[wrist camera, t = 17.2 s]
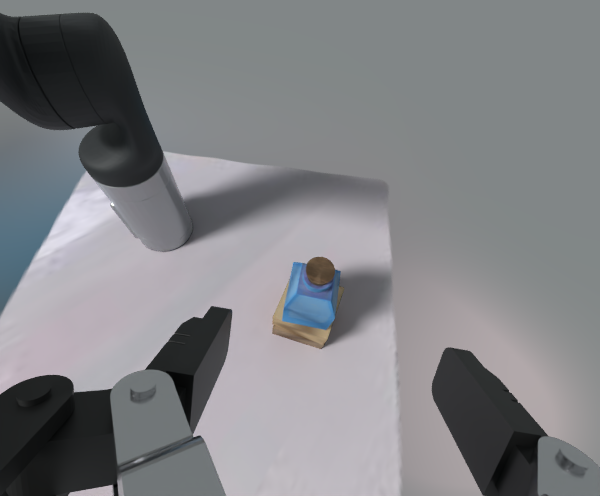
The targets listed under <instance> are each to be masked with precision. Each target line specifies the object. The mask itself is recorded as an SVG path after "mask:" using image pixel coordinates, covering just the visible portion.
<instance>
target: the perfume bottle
mask: <svg viewBox="0 0 600 496" xmlns="http://www.w3.org/2000/svg"><path fill="white" fill-rule="evenodd" d="M340 273H341V271H338V270H335V268H334V265H333V264H332V262H331V261H330V260H328V259H327V258H324V257H315V258H312V259H311V260H310V261H309V262H308V263H307V264H305V263H298V262H293V267H292V272H291V276H290V281H289V286H288V290H287V295H286V300H285V304H284V310H283V317H282V321H284V322H289V323H294V324H299V325H304V326H309V327H313V328H318V329H323V330H327V328H328V327H329V326H330V324H331V323H332V322H333V320H334V319H335V313H336V305H337V297H338V289H339V281H340Z"/></svg>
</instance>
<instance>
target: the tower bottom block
mask: <svg viewBox="0 0 600 496" xmlns="http://www.w3.org/2000/svg"><path fill="white" fill-rule="evenodd" d="M272 334H276V335H279V336H282V337H285V338H288V339H291V340H294V341H297V342H300V343H303V344H306V345H310V346H313V347H316V348H319V349H321V348H322V347H323V346H324V345H325V343H324V344H323V345H321V344H319V343H317V342H314V341H312V340H310V339H307V338H305V337H302V336H300V335H298V334H295V333H293V332H290V331H288V330H286V329H283V328H281V327H278V326H276V325H274V326H273V332H272Z"/></svg>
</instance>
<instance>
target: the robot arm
mask: <svg viewBox="0 0 600 496" xmlns="http://www.w3.org/2000/svg"><path fill="white" fill-rule="evenodd" d="M0 102H2V103H3V104H5V105H6V106H7V107H9V108H10V109H11V110H12V111H14V112H15V113H17V114H18V115H19V116H21V117H23V118H24V119H26V120H27V121H29V122H31V123H33V124H35V125H37V126H39V127H42V128H46V129H51V130H69V129H75V128H83V127H89V126H96V127H95V128H93V129H92V130H91V131H89V132H88V133H87V134H86V135H85V137H84V138H83V140H82V141H81V143H80V146H79V157H80V160H81V163H82V164H83V166H84V168H85V169H86V170H87V172H88V173H89V174H90V175H91V177H92V178H93V179H94V181H95V182H96V183H97V184H98V186H99V187H100V188H101V190H102V191H103V192H104V193H105V195H106V196H107V197H108V199H109V200H110V201H111V204H110V206H111V208H112V209H113V210H114V211H115V213H116V214H117V215H118V216H119V218H120V219H121V220H122V221H123V223H124V224H125V225H126V227H127V228H128V229H129V230H130V232H131V233H132V234H133V235H134V237H136V238H139V239H140V240H141V241H142V243H143V244H144V245H145V246H146V247H148V248H150V249H152V250H155V251H170V250H173V249H176V248H178V247H180V246H181V245H183V244H184V243H185V242H186V241H187V240H188V239H189V237H190V235H191V233H192V228H193V225H192V221H191V218H190V216H189V213H188V211H187V208H186V206H185V204H184V201H183V199H182V196H181V194H180V192H179V189H178V187H177V184H176V182H175V180H174V177H173V175H172V172H171V170H170V168H169V165H168V163H167V161H166V158H165V156H164V153H163V151H162V149H161V146H160V144H159V142H158V140H157V137H156V135H155V132H154V130H153V128H152V125H151V123H150V121H149V118H148V115H147V113H146V110H145V108H144V105H143V102H142V99H141V96H140V94H139V91H138V88H137V85H136V82H135V79H134V76H133V73H132V70H131V67H130V65H129V62H128V59H127V57H126V54H125V52H124V50H123V48H122V45H121V43H120V41H119V39H118V37H117V35H116V34H115V32H114V31H113V29H112V28H111V26H110V25H109V24H108V23H107V22H106V21H105V20H104V19H103V18H102V17H100V16H99V15H97V14H94V13H71V14H56V15H39V16H25V17H11V16H6V15H3V14H1V13H0ZM97 125H98V126H97ZM231 320H232V310H231V309H226V308H220V307H214V306H211V307H210V309H209V310H208V312H207V313H206V314H205V316H204V317H203V319H202V318H197V317H193V318H191V319H190V320H188V321H186V322H184V323H182V324H181V326H180V327H179V328H178V329H177V331H176V332H175V334H173V336H172V337H171V338H170V339H169V341H168V342H167V343H166V344H165V345H164V347H163V348H162V349H161V350H160V352H159V353H158V354H157V355H156V357H155V358H154V359H153V360H152V362H151V363H150V364H149V365H148V367H147V368H146V369H145V370H142V371H137V372H134V373H132V374H129V375H127V376H125V377H124V378H122V379H121V380H120V381H119V382H117V383H116V385H115V386H114V387H113V389H108V390H99V391H87V392H75V393H74V387H73V383H72V381H71V380H70V379H68V378H67V377H64V376H60V375H45V376H39V377H35V378H31V379H28V380H25V381H23V382H20V383H18V384H16V385H14V386H12V387H11V388H9V389H7V390H6V391H5V392H3V393H2V394H1V395H0V496H68V494H69V493H70V492H75V491H81V490H86V489H92V488H97V487H103V486H109V485H112V493H113V496H226V494H225V492H224V489H223V487H222V484H221V482H220V479H219V476H218V474H217V471H216V469H215V466H214V464H213V461H212V458H211V456H210V453H209V451H208V448H207V446H206V443H205V441H204V439H203V438H202V437H201V436H196V437H193V433H194V431H195V429H196V426H197V424H198V422H199V419H200V417H201V415H202V413H203V410H204V408H205V406H206V403H207V401H208V399H209V397H210V394H211V392H212V390H213V387H214V385H215V383H216V381H217V378H218V376H219V374H220V371H221V369H222V367H223V365H224V362H225V359H226V356H227V351H228V346H229V337H230V329H231ZM432 395H433V399H434V401H435V403H436V405H437V407H438V409H439V411H440V413H441V415H442V417H443V419H444V421H445V422H446V424H447V426H448V428H449V430H450V432H451V434H452V436H453V438H454V440H455V442H456V444H457V446H458V448H459V450H460V452H461V453H462V455H463V457H464V459H465V461H466V463H467V465H468V467H469V469H470V471H471V473H472V475H473V477H474V479H475V481H476V483H477V485H478V487H479V489H480V491H481V492H482V494H483V495H484V496H600V467H599V466H598V465H597V464H596V463H595V462H594V461H593V460H592V459H591V458H589V457H588V456H587V455H586V454H584V453H583V452H582V451H580V450H579V449H577V448H576V447H574V446H572V445H570V444H569V443H566V442H564V441H562V440H560V439H557V438H553V437H549V436H548V435H547V434H546V433H545V432H544V430H543V429H542V428H541V427H540V426H539V425H538V424H537V422H536V421H535V420H534V419H533V418H532V417H531V415H530V414H529V413H528V412H527V411H526V410H525V408H523V406H522V405H521V404H520V403H518V401H517V399H516V398H515V397H514V396H513V395H512V393H509V390H508V389H507V388H506V387H505V385H504V384H503V383H502V382H501V381H500V380H499V379H498V378H497V377H496V376H495V375H493V374H492V373H491V372H489V371H488V370H487V369H485V368H484V367H483V365H482V364H481V363H480V362H479V361H478V359H477V358H476V357H475V356H474V355H473V354H472V353H471V352H470V351H467V350H461V349H454V348H446V349H445V350H444V352H443V354H442V357H441V360H440V363H439V365H438V368H437V371H436V374H435V376H434V379H433V383H432Z"/></svg>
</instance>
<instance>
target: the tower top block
mask: <svg viewBox="0 0 600 496" xmlns="http://www.w3.org/2000/svg"><path fill="white" fill-rule="evenodd" d="M289 281H290V279H289ZM289 281H288V284H287V286H286V288H285V291H284V293H283V295H282V297H281V300H280V302H279V304H278V306H277V309H276V311H275V313H274V315H273V324H274V325H276V326H278V327H281V328H283V329H286V330H288V331H290V332H293V333H295V334H298V335H300V336H302V337H305V338H307V339H310V340H312V341H314V342H317V343H319V344H321V345H323V344H324V343H325V342H326V341H327V339H328V336H329V333H330V330H331V327H332V324H333V322H332V323H331V324H330V326H329V327H328V328H327V330H323V329H318V328H313V327H309V326H304V325H299V324H294V323H289V322H284V321H282V317H283V310H284V304H285V300H286V295H287V290H288V286H289ZM343 291H344V288H343V287H341V286H339V289H338V297H337V305H336V312H337V309H338V306H339V303H340V300H341V297H342V294H343ZM335 315H336V313H335ZM333 321H334V320H333Z"/></svg>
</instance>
